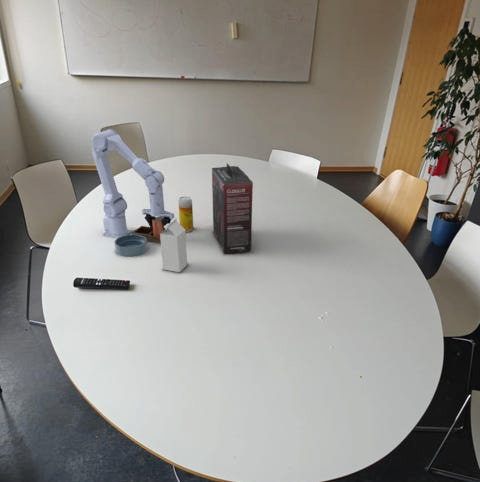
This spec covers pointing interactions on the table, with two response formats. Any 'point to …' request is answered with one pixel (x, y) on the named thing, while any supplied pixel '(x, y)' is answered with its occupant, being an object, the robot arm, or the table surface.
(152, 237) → the box
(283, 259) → the table surface
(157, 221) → the cup
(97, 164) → the robot arm
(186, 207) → the beer can
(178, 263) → the milk carton
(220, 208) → the headset box
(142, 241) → the bowl
